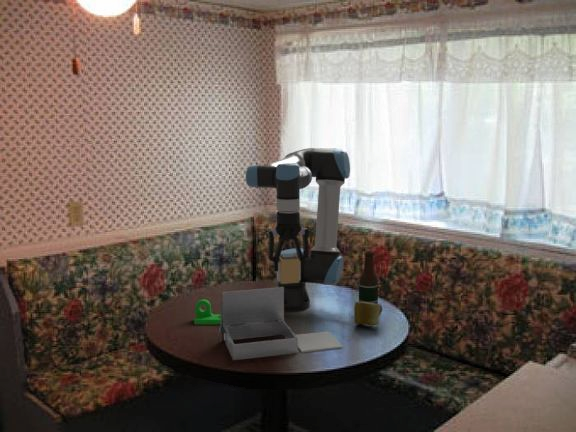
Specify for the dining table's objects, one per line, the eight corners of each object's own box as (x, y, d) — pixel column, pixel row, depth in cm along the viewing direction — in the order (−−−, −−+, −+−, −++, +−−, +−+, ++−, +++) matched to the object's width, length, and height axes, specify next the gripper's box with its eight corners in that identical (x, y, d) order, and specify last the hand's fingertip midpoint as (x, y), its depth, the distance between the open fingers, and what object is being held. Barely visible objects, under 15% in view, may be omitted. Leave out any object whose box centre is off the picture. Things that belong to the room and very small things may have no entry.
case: (283, 332, 205) (283, 286, 203) (297, 352, 188) (297, 302, 185) (219, 339, 199) (217, 292, 197) (228, 361, 182) (226, 309, 179)
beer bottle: (355, 312, 226) (356, 253, 222) (360, 306, 233) (362, 248, 229) (375, 315, 223) (376, 254, 219) (379, 308, 230) (381, 250, 226)
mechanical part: (194, 325, 214) (193, 304, 213) (196, 319, 220) (196, 299, 219) (226, 324, 214) (226, 304, 213) (228, 319, 220) (227, 299, 219)
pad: (328, 332, 205) (328, 331, 205) (342, 348, 192) (342, 346, 192) (290, 337, 201) (290, 335, 201) (301, 352, 188) (301, 351, 188)
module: (295, 277, 195) (294, 252, 193) (299, 282, 189) (299, 257, 188) (277, 278, 194) (277, 253, 192) (281, 283, 188) (281, 258, 186)
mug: (364, 322, 202) (364, 295, 206) (347, 327, 211) (347, 300, 215) (392, 327, 208) (391, 300, 212) (375, 332, 216) (374, 305, 220)
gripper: (313, 208, 193) (313, 274, 197) (257, 210, 189) (258, 278, 193) (319, 211, 186) (319, 280, 190) (261, 214, 181) (262, 285, 186)
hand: (288, 279), depth 191 cm, fingers closed on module, 6 cm apart
